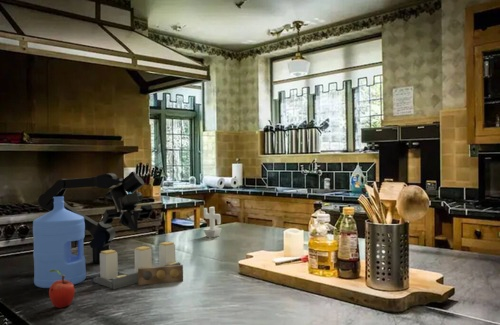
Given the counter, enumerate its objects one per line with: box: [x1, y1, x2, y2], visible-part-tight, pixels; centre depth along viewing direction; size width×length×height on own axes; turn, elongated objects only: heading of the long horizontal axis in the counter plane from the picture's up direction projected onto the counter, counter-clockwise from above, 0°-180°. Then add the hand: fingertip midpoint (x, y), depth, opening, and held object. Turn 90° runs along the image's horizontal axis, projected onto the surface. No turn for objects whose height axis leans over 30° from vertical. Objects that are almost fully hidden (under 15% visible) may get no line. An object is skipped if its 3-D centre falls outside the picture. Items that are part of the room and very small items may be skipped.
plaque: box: [137, 264, 184, 286], centre depth 136 cm, size 14×2×5 cm, turn 103°
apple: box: [48, 270, 76, 309], centre depth 115 cm, size 8×7×10 cm
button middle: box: [134, 245, 153, 273], centre depth 142 cm, size 4×4×9 cm
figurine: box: [202, 206, 223, 238], centre depth 217 cm, size 7×9×15 cm
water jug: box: [32, 195, 87, 289], centre depth 139 cm, size 16×16×28 cm
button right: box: [158, 241, 177, 266], centre depth 150 cm, size 4×4×9 cm
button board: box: [93, 261, 181, 290], centre depth 144 cm, size 12×26×3 cm, turn 138°
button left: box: [99, 249, 119, 280], centre depth 138 cm, size 4×4×9 cm
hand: (136, 231), depth 157 cm, fingers closed
